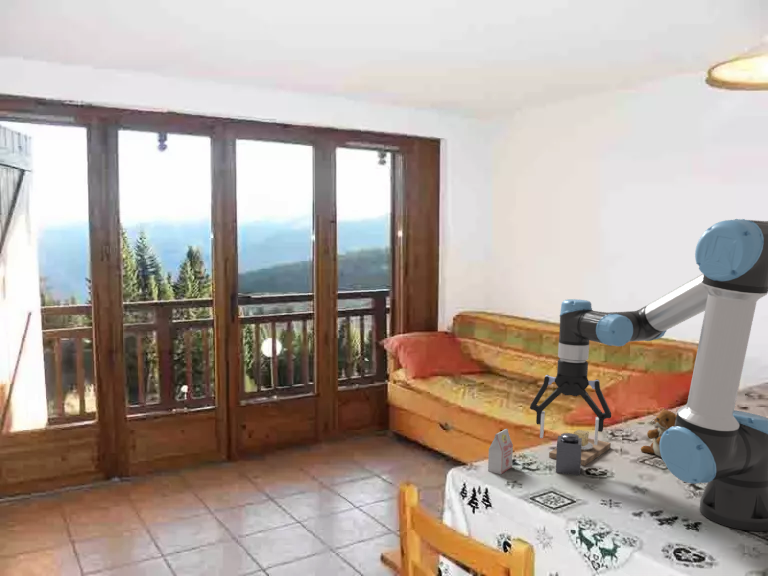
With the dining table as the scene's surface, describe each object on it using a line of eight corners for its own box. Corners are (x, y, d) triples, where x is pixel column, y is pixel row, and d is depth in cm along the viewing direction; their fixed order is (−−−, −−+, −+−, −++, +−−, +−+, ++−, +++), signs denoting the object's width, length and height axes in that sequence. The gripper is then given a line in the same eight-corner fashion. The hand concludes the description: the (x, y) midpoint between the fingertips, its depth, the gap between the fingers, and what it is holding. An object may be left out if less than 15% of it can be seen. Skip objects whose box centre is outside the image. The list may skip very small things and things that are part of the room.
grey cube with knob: (580, 475, 166) (581, 440, 166) (555, 472, 168) (557, 437, 167) (580, 467, 172) (582, 433, 171) (557, 465, 174) (558, 431, 173)
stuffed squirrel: (637, 451, 187) (639, 406, 186) (679, 448, 190) (681, 404, 189) (660, 463, 177) (663, 415, 176) (704, 459, 181) (706, 413, 180)
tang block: (584, 465, 174) (585, 443, 173) (549, 457, 180) (549, 436, 179) (610, 447, 189) (611, 427, 189) (577, 440, 195) (578, 421, 195)
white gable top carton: (487, 471, 168) (489, 433, 168) (499, 464, 174) (500, 427, 173) (501, 474, 166) (502, 435, 165) (512, 467, 172) (513, 429, 171)
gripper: (623, 361, 168) (618, 441, 170) (525, 352, 175) (521, 429, 177) (625, 366, 160) (619, 450, 162) (522, 357, 168) (518, 437, 170)
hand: (568, 440), depth 170 cm, fingers open, 13 cm apart
